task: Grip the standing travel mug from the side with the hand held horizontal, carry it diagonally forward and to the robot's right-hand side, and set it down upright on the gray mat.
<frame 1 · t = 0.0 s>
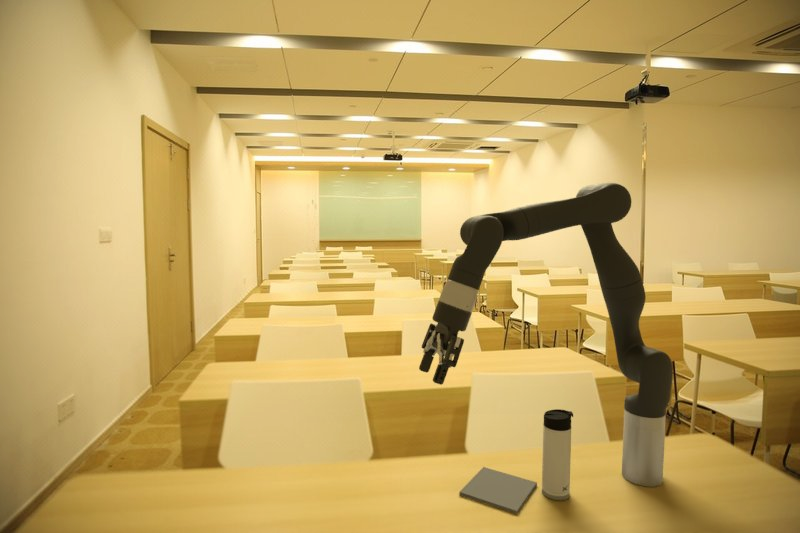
hand: (430, 376, 103), 31 cm above the table, tool tilted 20°, fingers open, 8 cm apart
travel mug: (556, 494, 115), on the table
gray mat: (498, 490, 116), on the table
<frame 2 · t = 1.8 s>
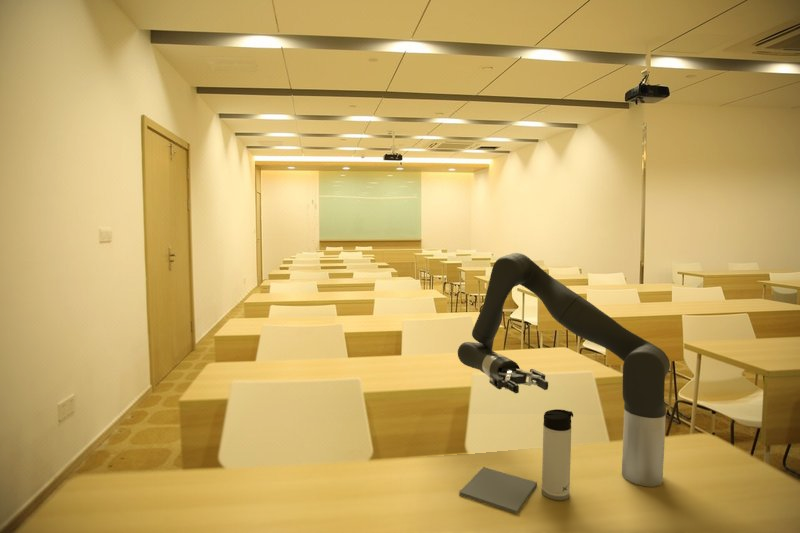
hand: (532, 387, 123), 22 cm above the table, tool horizontal, fingers open, 8 cm apart
nothing on the table moved.
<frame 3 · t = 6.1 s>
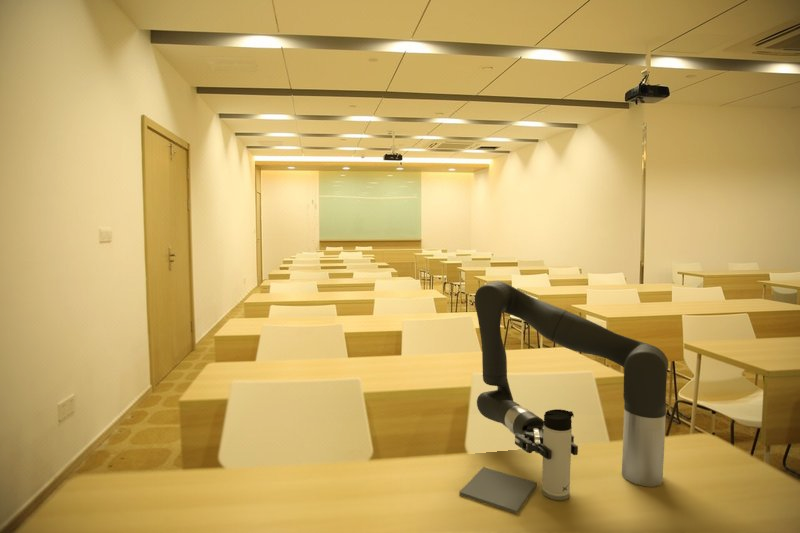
hand: (563, 453, 111), 11 cm above the table, tool horizontal, fingers closed on travel mug, 6 cm apart
travel mug: (556, 494, 115), on the table, touching gripper
when the fingers open (13 cm above the table, at t = 11.9 s): travel mug drops 1 cm, resting on gray mat.
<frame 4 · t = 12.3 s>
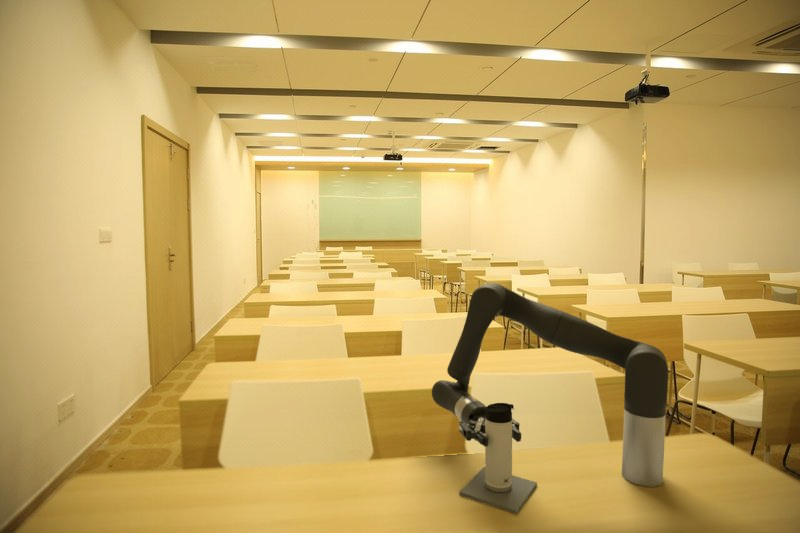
hand: (503, 440, 113), 13 cm above the table, tool horizontal, fingers open, 8 cm apart
travel mug: (499, 487, 116), point 1 cm above the table, touching gray mat
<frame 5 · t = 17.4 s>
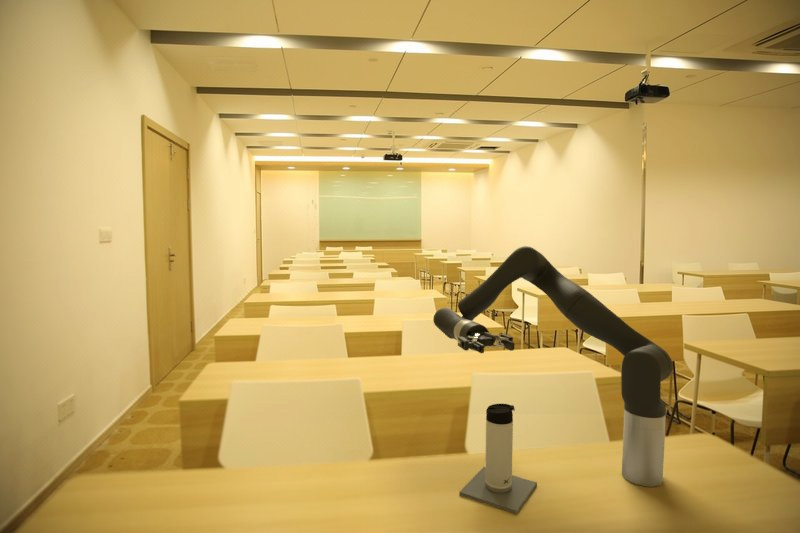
hand: (498, 348, 124), 32 cm above the table, tool horizontal, fingers open, 8 cm apart
nothing on the table moved.
at the end: travel mug inside the target area on the gray mat (0.3 cm from its centre), point 0.6 cm above the gray mat's base; travel mug tilted 0°; the gripper is holding nothing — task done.
